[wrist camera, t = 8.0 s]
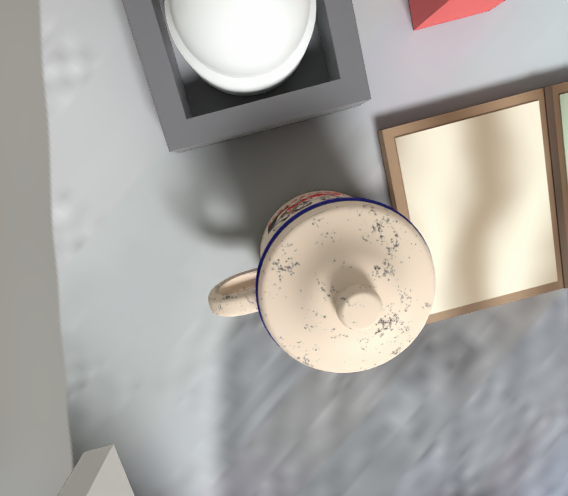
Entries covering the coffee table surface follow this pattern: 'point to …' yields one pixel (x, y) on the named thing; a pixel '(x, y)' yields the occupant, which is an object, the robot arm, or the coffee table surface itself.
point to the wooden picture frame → (487, 197)
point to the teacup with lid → (336, 282)
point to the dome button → (242, 40)
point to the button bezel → (259, 114)
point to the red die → (446, 10)
